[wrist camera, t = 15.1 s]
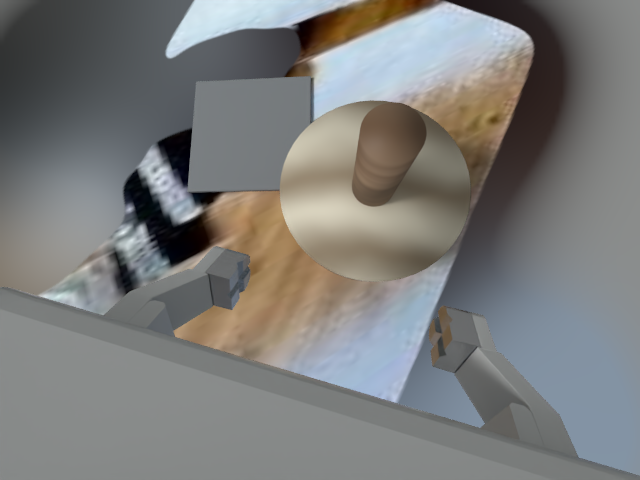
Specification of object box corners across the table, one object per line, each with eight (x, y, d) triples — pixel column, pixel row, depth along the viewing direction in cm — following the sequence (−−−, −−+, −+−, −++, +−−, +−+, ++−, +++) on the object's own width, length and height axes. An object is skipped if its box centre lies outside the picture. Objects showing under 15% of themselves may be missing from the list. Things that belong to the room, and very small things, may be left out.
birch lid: (471, 283, 23) (566, 281, 13) (279, 280, 24) (241, 278, 14) (457, 106, 25) (529, 0, 16) (285, 111, 26) (256, 14, 17)
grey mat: (310, 189, 37) (310, 188, 37) (189, 192, 38) (187, 191, 38) (310, 78, 40) (310, 76, 40) (197, 83, 41) (196, 81, 41)
